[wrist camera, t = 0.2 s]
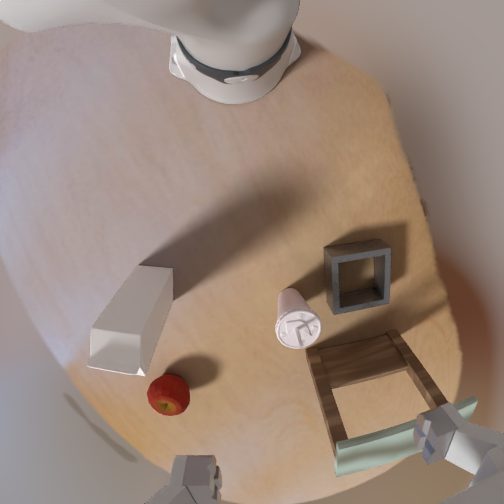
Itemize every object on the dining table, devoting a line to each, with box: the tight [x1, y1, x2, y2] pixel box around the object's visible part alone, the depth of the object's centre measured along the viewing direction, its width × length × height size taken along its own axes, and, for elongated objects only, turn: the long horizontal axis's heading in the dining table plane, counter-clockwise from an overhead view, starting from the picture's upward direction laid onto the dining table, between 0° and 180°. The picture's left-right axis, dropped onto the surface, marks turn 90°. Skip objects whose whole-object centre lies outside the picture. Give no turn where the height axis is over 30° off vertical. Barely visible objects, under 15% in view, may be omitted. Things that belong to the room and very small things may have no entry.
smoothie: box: [276, 288, 322, 349], centre depth 45 cm, size 6×6×14 cm
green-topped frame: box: [306, 330, 478, 477], centre depth 42 cm, size 7×19×26 cm, turn 99°
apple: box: [147, 374, 190, 416], centre depth 53 cm, size 8×8×8 cm
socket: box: [324, 239, 391, 315], centre depth 48 cm, size 10×10×4 cm
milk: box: [86, 265, 173, 376], centre depth 39 cm, size 6×6×22 cm
